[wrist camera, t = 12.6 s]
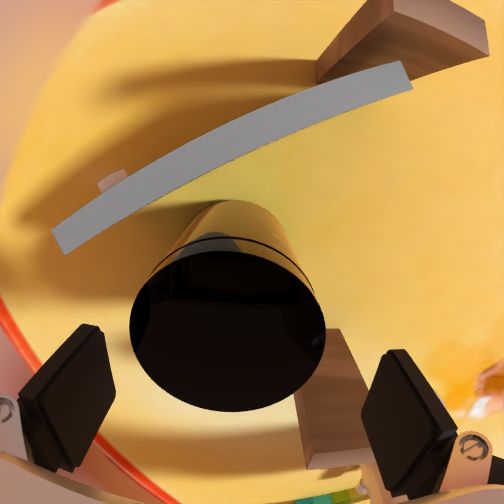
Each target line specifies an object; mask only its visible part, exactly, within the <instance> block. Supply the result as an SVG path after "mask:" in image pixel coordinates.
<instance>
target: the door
mask: <svg viewBox="0 0 504 504" xmlns="http://www.w3.org/2000/svg"><path fill="white" fill-rule="evenodd" d="M412 89H413V87H412V85H411V82H410V80H409V78H408V76H407V74H406V71H405V69H404V67H403V65H402V63H401V61H396V62H392V63H388V64H384V65H381V66H377V67H373V68H370V69H366V70H363V71H360V72H356V73H353V74H350V75H347V76H344V77H341V78H338V79H335V80H332V81H329V82H326V83H323V84H320V85H317V86H314V87H312V88H309V89H306V90H304V91H301V92H298V93H296V94H293V95H291V96H288V97H286V98H283V99H281V100H278V101H276V102H273V103H271V104H268V105H266V106H264V107H261V108H259V109H257V110H255V111H252V112H250V113H248V114H246V115H243V116H241V117H239V118H237V119H235V120H232V121H230V122H228V123H226V124H224V125H222V126H220V127H218V128H216V129H214V130H212V131H210V132H208V133H206V134H204V135H202V136H200V137H198V138H196V139H194V140H192V141H190V142H188V143H186V144H185V145H183V146H181V147H179V148H177V149H175V150H174V151H172V152H170V153H168V154H166V155H165V156H163V157H161V158H159V159H158V160H156V161H154V162H152V163H151V164H149V165H147V166H146V167H144V168H142V169H140V170H139V171H137V172H136V173H134V174H132V175H131V176H128V174H127V172H126V170H125V168H123V169H120V170H117V171H115V172H113V173H111V174H110V175H108V176H106V177H105V178H103V179H102V180H100V181H99V182H98V183H97V185H98V187H99V189H100V191H101V193H102V194H101V195H100V196H98V197H97V198H95V199H94V200H92V201H91V202H89V203H88V204H86V205H85V206H83V207H82V208H81V209H79V210H78V211H76V212H75V213H74V214H72V215H71V216H70V217H68V218H67V219H65V220H64V221H63V222H61V223H60V224H59V225H57V226H56V227H55V228H53V229H52V230H51V231H52V233H53V235H54V237H55V239H56V241H57V243H58V244H59V246H60V248H61V250H62V252H63V254H64V255H66V254H68V253H69V252H71V251H73V250H74V249H76V248H77V247H79V246H80V245H82V244H83V243H85V242H86V241H88V240H90V239H91V238H93V237H94V236H96V235H98V234H99V233H101V232H102V231H104V230H106V229H107V228H109V227H111V226H112V225H114V224H116V223H117V222H119V221H121V220H122V219H124V218H126V217H128V216H129V215H131V214H133V213H134V212H136V211H138V210H140V209H141V208H143V207H145V206H146V205H148V204H150V203H152V202H154V201H155V200H157V199H159V198H161V197H163V196H164V195H166V194H168V193H170V192H172V191H174V190H175V189H177V188H179V187H181V186H183V185H185V184H187V183H189V182H190V181H192V180H194V179H196V178H198V177H200V176H202V175H204V174H206V173H208V172H210V171H212V170H214V169H216V168H218V167H220V166H222V165H224V164H226V163H228V162H230V161H232V160H234V159H237V158H239V157H241V156H243V155H245V154H247V153H249V152H251V151H254V150H256V149H258V148H260V147H262V146H265V145H267V144H269V143H271V142H274V141H276V140H278V139H281V138H283V137H285V136H287V135H290V134H292V133H295V132H297V131H299V130H302V129H304V128H307V127H309V126H312V125H314V124H317V123H319V122H322V121H324V120H327V119H329V118H332V117H334V116H337V115H340V114H342V113H345V112H348V111H350V110H353V109H356V108H359V107H361V106H364V105H367V104H370V103H372V102H375V101H378V100H381V99H384V98H387V97H390V96H393V95H396V94H399V93H402V92H405V91H409V90H412Z"/></svg>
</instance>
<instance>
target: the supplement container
mask: <svg viewBox="0 0 504 504" xmlns="http://www.w3.org/2000/svg"><path fill="white" fill-rule="evenodd" d="M129 330H130V339H131V344H132V347H133V350H134V353H135V355H136V357H137V359H138V361H139V363H140V365H141V366H142V368H143V369H144V371H145V372H146V373H147V374H148V376H149V377H150V378H151V379H152V380H153V381H154V382H155V383H156V384H157V385H158V386H159V387H161V388H162V389H163V390H164V391H166V392H167V393H169V394H170V395H172V396H174V397H175V398H177V399H179V400H181V401H183V402H185V403H188V404H190V405H193V406H196V407H199V408H203V409H208V410H213V411H220V412H243V411H250V410H256V409H260V408H264V407H267V406H270V405H272V404H275V403H277V402H279V401H281V400H283V399H285V398H287V397H288V396H290V395H292V394H293V393H294V392H296V391H297V390H298V389H300V388H301V387H302V386H303V385H304V384H305V383H306V382H307V381H308V380H309V378H310V377H311V376H312V374H313V373H314V372H315V370H316V368H317V367H318V365H319V363H320V360H321V358H322V355H323V352H324V348H325V342H326V327H325V321H324V317H323V313H322V311H321V308H320V305H319V303H318V301H317V299H316V296H315V293H314V291H313V288H312V286H311V284H310V282H309V280H308V278H307V276H306V275H305V274H304V272H303V270H302V268H301V266H300V264H299V262H298V259H297V257H296V255H295V253H294V251H293V249H292V247H291V245H290V242H289V240H288V238H287V236H286V234H285V232H284V230H283V228H282V226H281V225H280V223H279V222H278V220H277V219H276V218H275V217H274V216H273V215H272V214H271V213H270V212H268V211H267V210H266V209H264V208H262V207H261V206H258V205H256V204H253V203H251V202H246V201H240V200H231V201H224V202H220V203H216V204H214V205H212V206H210V207H208V208H206V209H205V210H203V211H202V212H201V213H200V214H198V215H197V216H196V217H195V219H194V220H193V221H192V222H191V224H190V225H189V226H188V227H187V229H186V230H185V231H184V233H183V234H182V235H181V237H180V238H179V239H178V241H177V242H176V243H175V245H174V246H173V247H172V249H171V250H170V251H169V253H168V254H167V255H166V257H165V258H164V259H163V260H161V262H160V263H159V264H158V265H157V266H156V267H155V269H154V270H153V272H152V273H151V275H150V276H149V278H148V280H147V281H146V283H145V284H144V285H143V287H142V288H141V290H140V292H139V293H138V295H137V297H136V299H135V301H134V304H133V307H132V310H131V315H130V323H129Z"/></svg>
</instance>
